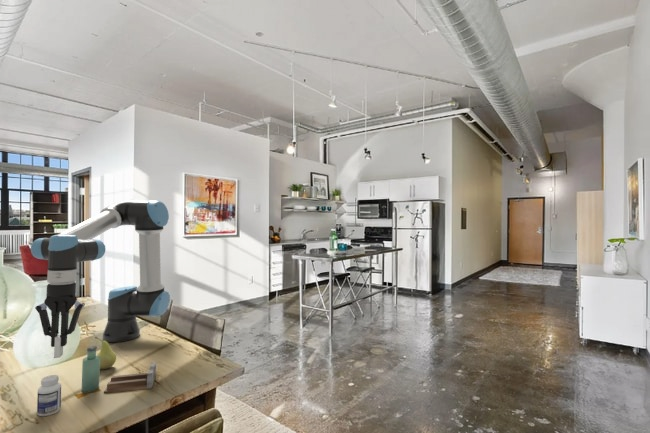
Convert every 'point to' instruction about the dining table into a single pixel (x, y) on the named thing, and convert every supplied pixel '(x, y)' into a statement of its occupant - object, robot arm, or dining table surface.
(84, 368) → the bottle
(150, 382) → the cradle
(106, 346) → the fruit
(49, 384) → the pill bottle
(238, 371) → the dining table surface
